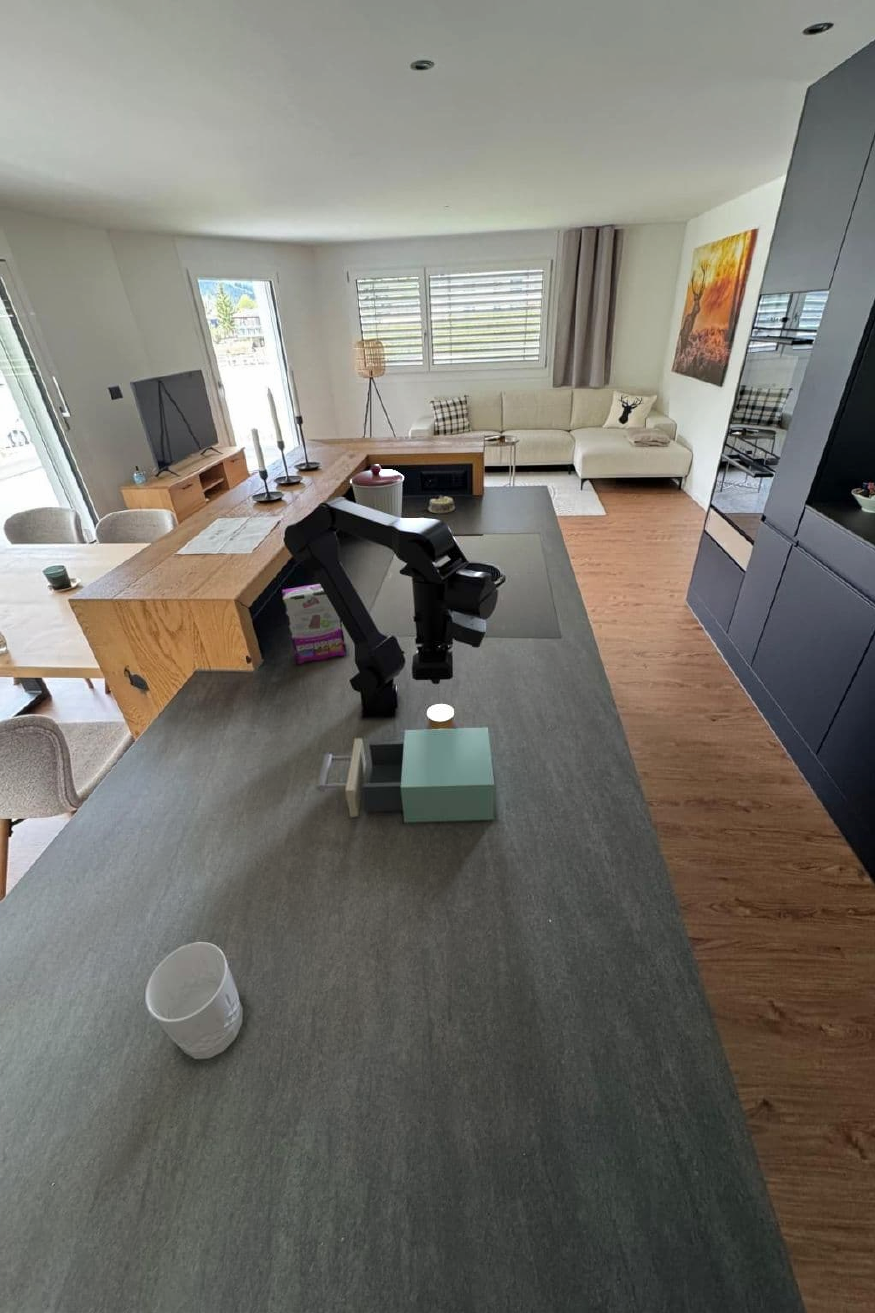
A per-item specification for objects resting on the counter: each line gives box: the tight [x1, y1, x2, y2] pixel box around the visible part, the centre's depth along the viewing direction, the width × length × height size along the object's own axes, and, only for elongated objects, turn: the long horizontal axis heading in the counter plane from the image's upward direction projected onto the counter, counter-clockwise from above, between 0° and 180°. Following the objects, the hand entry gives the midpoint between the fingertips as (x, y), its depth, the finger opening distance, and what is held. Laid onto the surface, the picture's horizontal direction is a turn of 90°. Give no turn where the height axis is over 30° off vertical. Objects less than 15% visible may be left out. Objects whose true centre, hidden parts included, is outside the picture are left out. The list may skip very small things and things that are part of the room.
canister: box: [349, 463, 405, 518], centre depth 187 cm, size 18×18×21 cm
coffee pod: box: [426, 703, 455, 730], centre depth 101 cm, size 5×5×4 cm
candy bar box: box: [282, 583, 348, 665], centre depth 121 cm, size 11×5×16 cm, turn 105°
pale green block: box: [401, 727, 495, 823], centre depth 88 cm, size 14×13×8 cm
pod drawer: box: [316, 737, 404, 818], centre depth 88 cm, size 17×11×6 cm, turn 90°
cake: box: [427, 494, 456, 514], centre depth 204 cm, size 10×10×5 cm
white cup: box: [144, 941, 244, 1060], centre depth 59 cm, size 8×8×10 cm
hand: (436, 682), depth 96 cm, fingers closed
